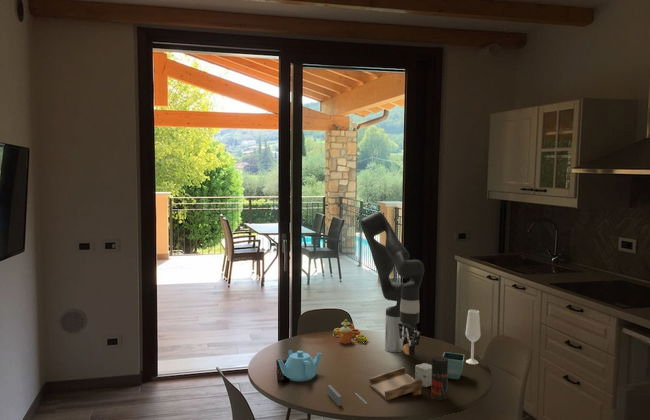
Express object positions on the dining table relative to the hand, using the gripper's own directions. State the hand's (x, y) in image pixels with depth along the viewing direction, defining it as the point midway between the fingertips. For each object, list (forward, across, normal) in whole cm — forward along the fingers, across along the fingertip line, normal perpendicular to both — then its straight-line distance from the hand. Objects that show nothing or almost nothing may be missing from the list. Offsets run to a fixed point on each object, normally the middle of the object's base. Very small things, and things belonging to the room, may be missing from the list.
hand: (408, 352), depth 201 cm
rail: (+15, 0, -32) cm, 35 cm away
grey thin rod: (+15, 0, -22) cm, 26 cm away
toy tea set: (+15, -67, +3) cm, 69 cm away
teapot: (+15, -26, -37) cm, 47 cm away
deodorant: (+15, +11, +7) cm, 20 cm away
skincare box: (+15, -2, +9) cm, 18 cm away
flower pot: (+15, -4, +24) cm, 29 cm away
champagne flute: (+14, -15, +43) cm, 48 cm away
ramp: (+15, 0, -6) cm, 16 cm away
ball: (-1, 0, 0) cm, 1 cm away
